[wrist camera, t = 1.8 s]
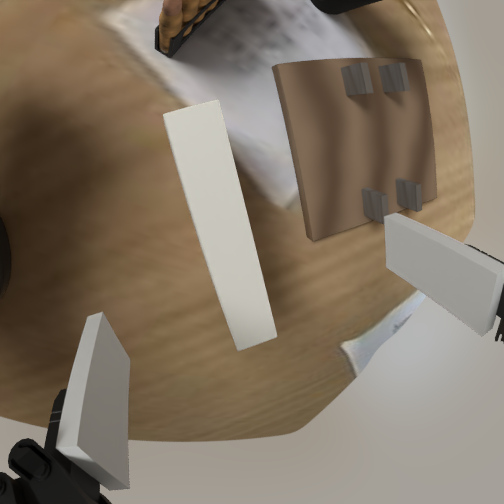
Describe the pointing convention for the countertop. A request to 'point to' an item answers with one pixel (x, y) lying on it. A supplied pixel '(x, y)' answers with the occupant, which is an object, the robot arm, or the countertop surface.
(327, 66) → the clip board
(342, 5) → the drinking cup
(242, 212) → the door panel
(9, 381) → the countertop surface
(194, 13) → the ammunition clip
